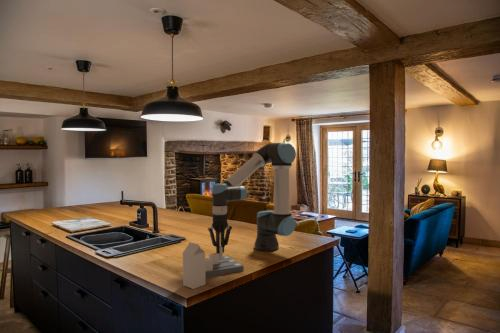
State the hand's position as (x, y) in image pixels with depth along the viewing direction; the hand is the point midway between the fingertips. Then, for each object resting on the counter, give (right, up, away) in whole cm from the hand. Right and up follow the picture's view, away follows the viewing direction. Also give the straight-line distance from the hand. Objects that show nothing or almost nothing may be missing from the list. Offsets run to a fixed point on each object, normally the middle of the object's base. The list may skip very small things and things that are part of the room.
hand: (220, 259), depth 182 cm
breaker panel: (-3, -5, -1) cm, 6 cm away
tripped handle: (-3, -2, -1) cm, 4 cm away
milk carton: (-10, -6, -24) cm, 26 cm away
